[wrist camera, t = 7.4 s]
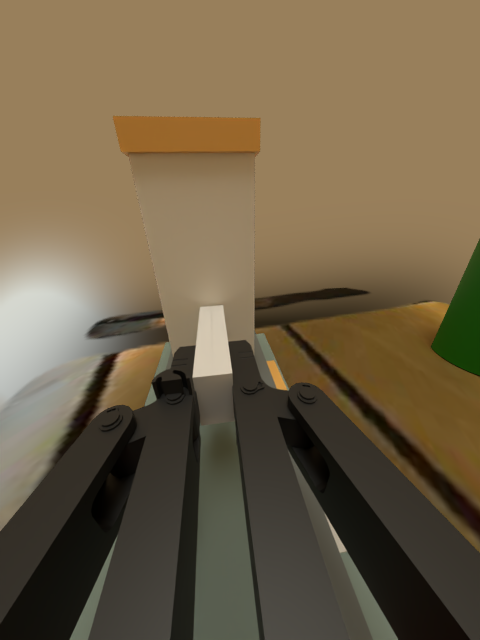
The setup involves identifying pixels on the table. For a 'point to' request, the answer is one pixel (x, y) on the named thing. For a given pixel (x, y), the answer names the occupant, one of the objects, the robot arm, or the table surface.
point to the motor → (463, 321)
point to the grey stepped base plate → (232, 540)
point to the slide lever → (197, 215)
